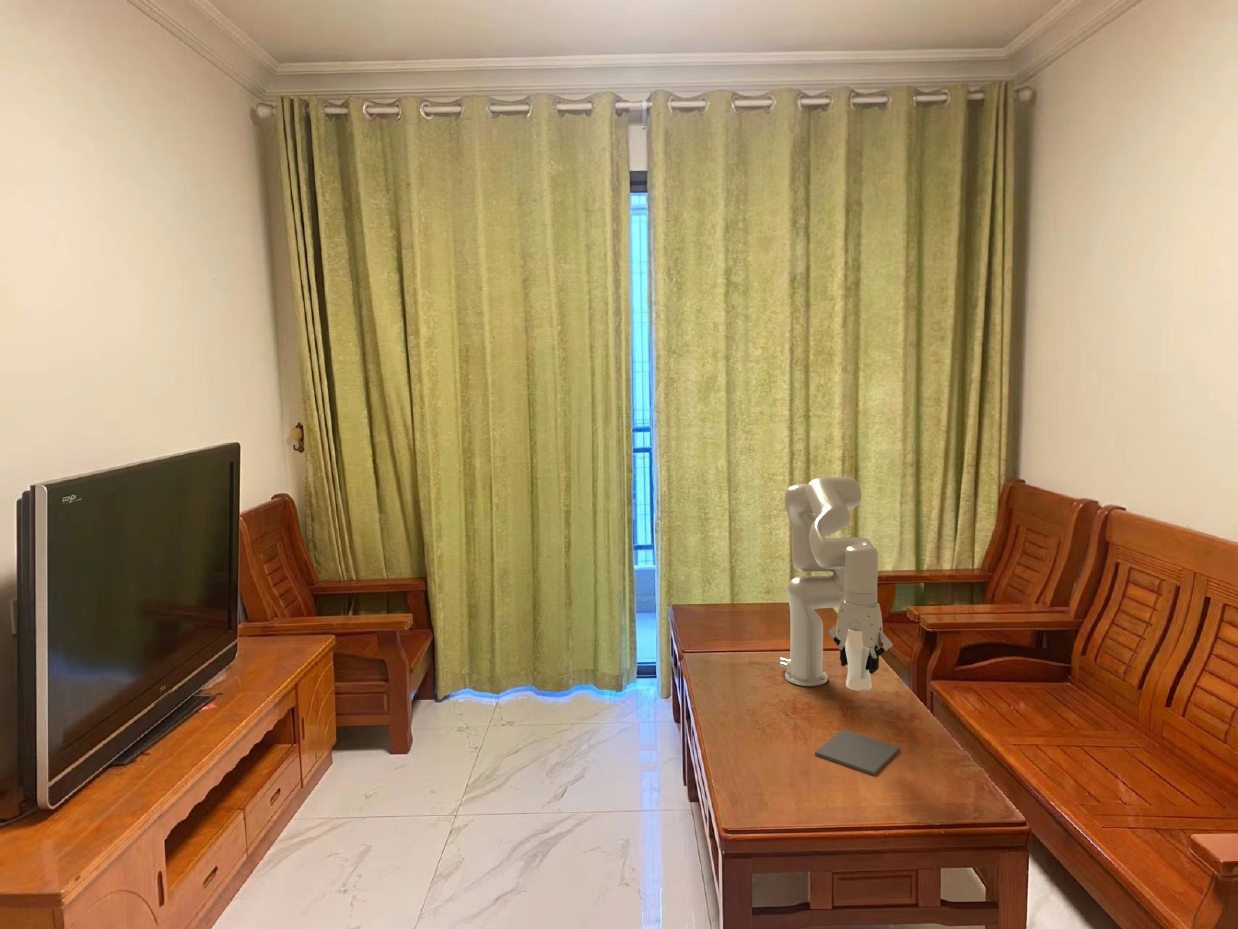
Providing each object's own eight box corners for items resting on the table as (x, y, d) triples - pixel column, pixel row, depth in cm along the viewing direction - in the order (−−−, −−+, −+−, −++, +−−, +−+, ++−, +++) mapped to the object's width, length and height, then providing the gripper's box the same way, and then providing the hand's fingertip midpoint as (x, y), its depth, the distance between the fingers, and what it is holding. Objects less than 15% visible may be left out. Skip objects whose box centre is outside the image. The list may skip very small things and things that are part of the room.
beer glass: (853, 693, 184) (855, 633, 182) (838, 682, 191) (839, 623, 189) (879, 689, 186) (881, 629, 184) (863, 678, 193) (864, 620, 191)
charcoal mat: (815, 754, 190) (815, 751, 190) (842, 732, 202) (842, 729, 201) (874, 775, 181) (874, 772, 180) (899, 750, 192) (899, 747, 192)
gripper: (819, 593, 188) (818, 664, 191) (889, 608, 177) (887, 682, 180) (834, 586, 194) (832, 655, 197) (902, 599, 183) (900, 672, 185)
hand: (859, 667), depth 188 cm, fingers closed on beer glass, 6 cm apart
